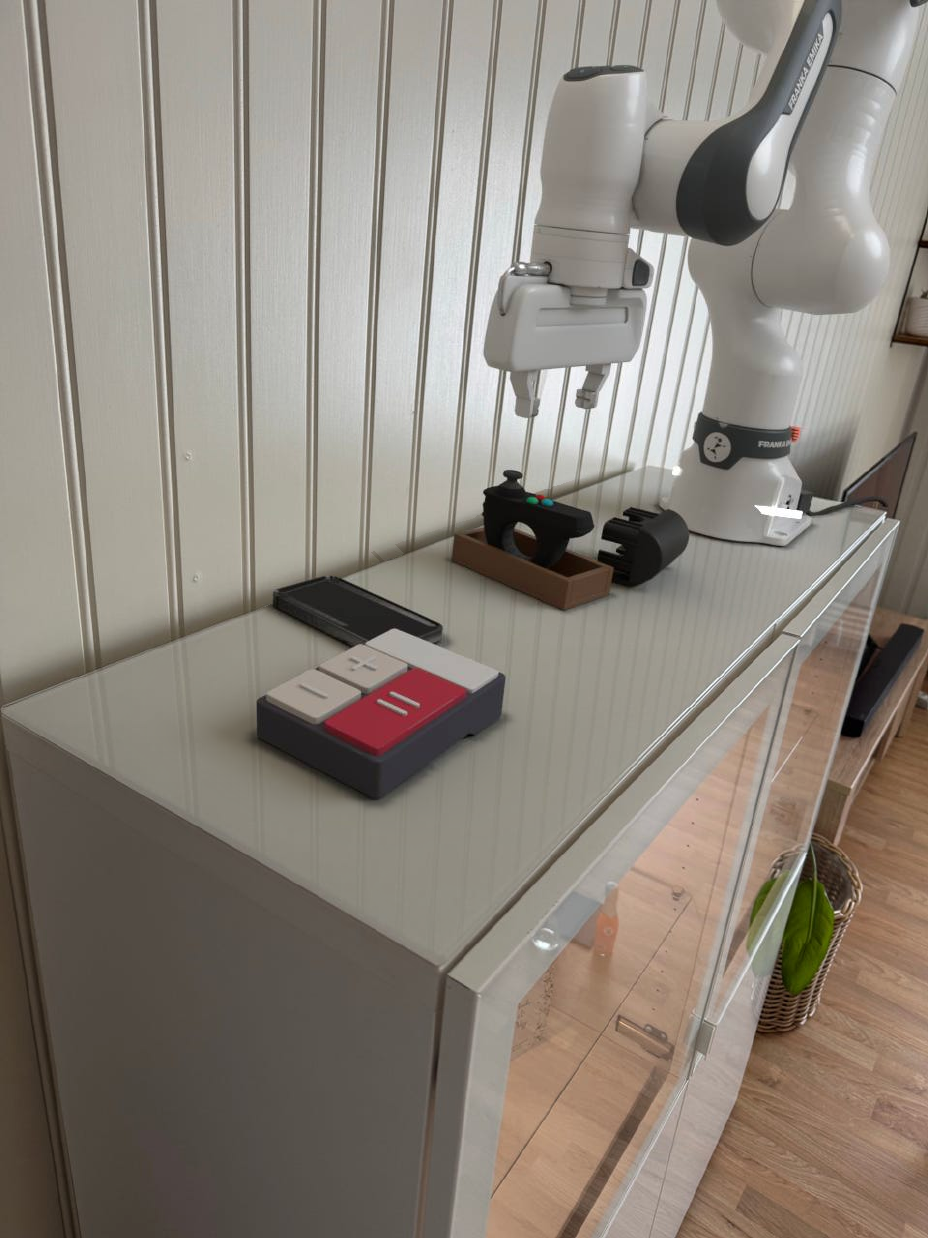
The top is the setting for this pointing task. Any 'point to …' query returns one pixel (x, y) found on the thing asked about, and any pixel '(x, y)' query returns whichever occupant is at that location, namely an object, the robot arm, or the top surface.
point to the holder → (535, 569)
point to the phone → (351, 611)
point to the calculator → (380, 710)
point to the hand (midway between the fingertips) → (556, 411)
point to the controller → (531, 520)
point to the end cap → (643, 544)
